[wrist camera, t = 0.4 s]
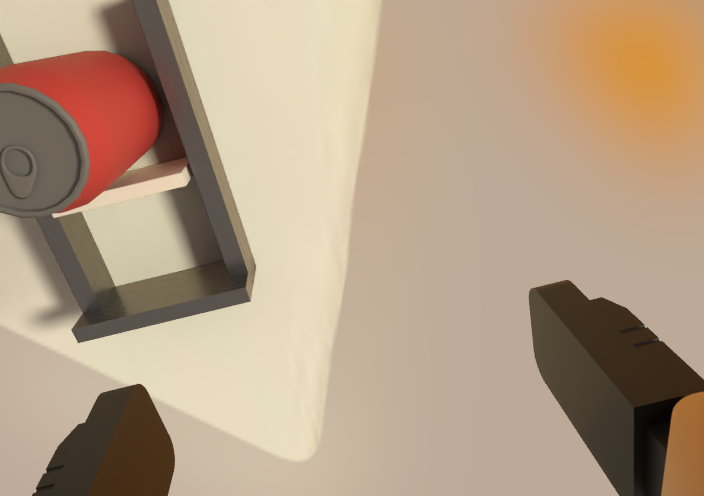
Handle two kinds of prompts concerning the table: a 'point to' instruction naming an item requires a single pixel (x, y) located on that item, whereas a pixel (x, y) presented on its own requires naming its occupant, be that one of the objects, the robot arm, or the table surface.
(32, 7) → the table surface
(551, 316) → the robot arm
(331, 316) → the table surface
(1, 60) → the lane
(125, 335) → the table surface
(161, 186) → the pusher
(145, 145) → the beer can
